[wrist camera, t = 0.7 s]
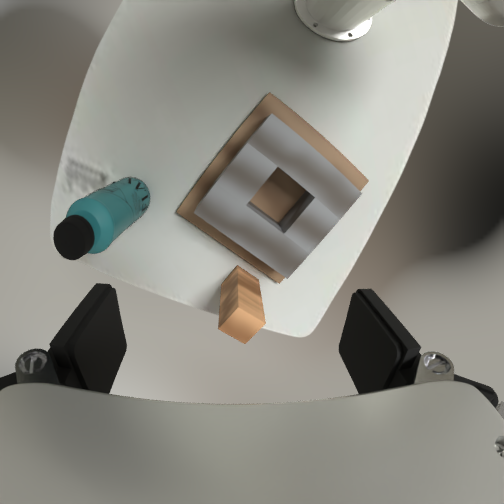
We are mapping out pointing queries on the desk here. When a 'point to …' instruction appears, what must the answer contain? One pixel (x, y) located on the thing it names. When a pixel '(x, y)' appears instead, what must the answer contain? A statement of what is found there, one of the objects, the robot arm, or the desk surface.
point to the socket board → (273, 190)
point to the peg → (241, 306)
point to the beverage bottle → (101, 218)
